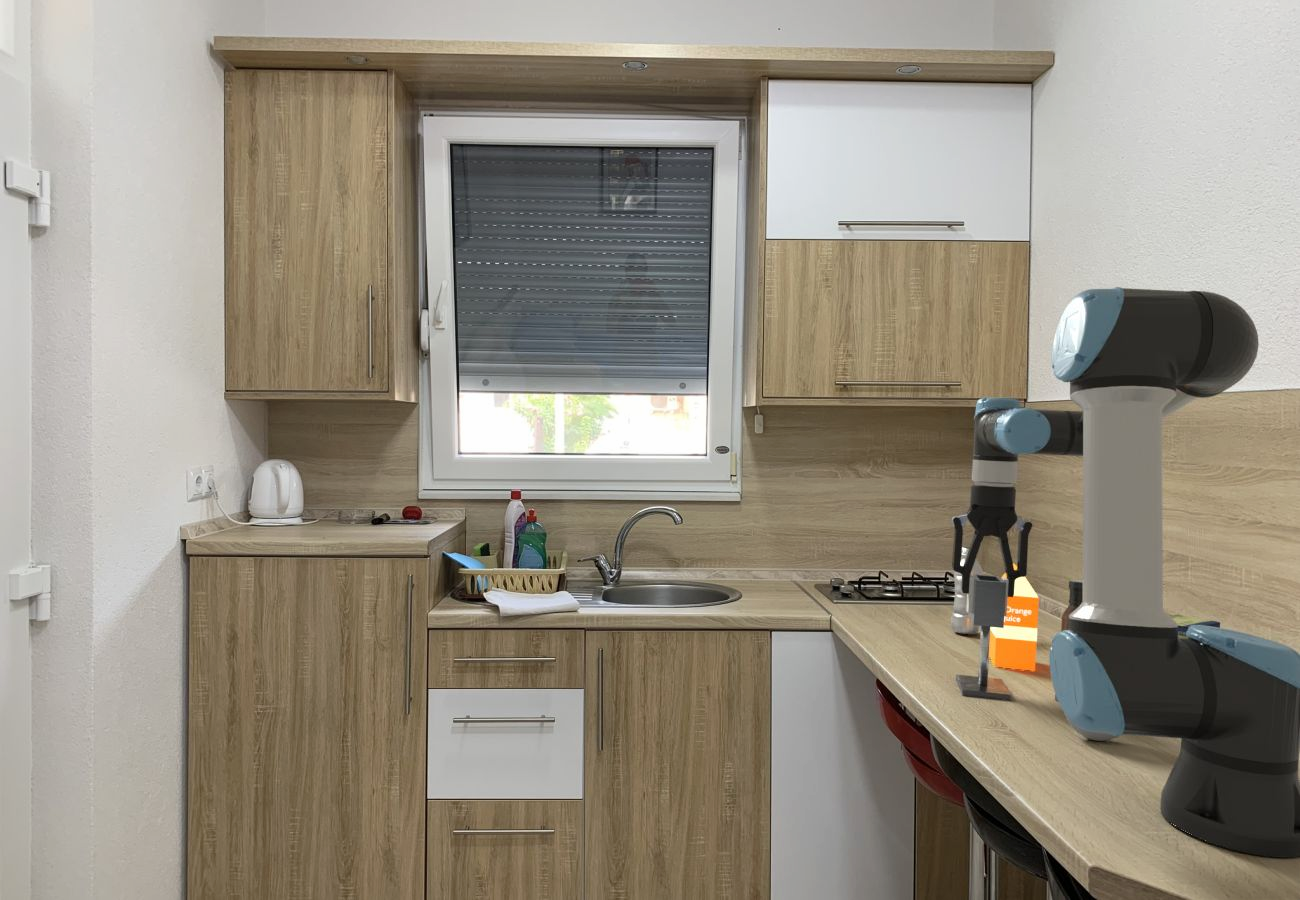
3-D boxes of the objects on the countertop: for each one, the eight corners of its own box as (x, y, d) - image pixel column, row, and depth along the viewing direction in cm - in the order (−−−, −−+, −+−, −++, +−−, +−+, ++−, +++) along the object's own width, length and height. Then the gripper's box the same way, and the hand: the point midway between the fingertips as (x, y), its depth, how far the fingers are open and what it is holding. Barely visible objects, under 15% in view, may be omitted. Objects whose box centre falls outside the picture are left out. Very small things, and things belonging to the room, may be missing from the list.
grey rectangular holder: (1003, 628, 154) (1006, 582, 154) (973, 625, 155) (976, 580, 155) (997, 619, 161) (999, 576, 161) (968, 617, 162) (970, 574, 162)
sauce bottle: (1099, 695, 158) (1106, 585, 158) (1062, 691, 159) (1068, 582, 159) (1089, 684, 165) (1095, 579, 164) (1053, 681, 166) (1059, 577, 165)
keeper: (1010, 700, 152) (1014, 631, 152) (962, 695, 154) (966, 627, 154) (1001, 684, 162) (1004, 620, 162) (955, 679, 164) (959, 616, 164)
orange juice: (993, 667, 174) (999, 567, 174) (987, 656, 183) (992, 561, 182) (1036, 671, 172) (1041, 570, 172) (1027, 660, 181) (1033, 564, 180)
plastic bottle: (950, 635, 201) (955, 548, 200) (949, 629, 207) (953, 545, 207) (980, 638, 199) (985, 550, 199) (978, 632, 206) (983, 547, 205)
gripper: (1043, 486, 159) (1035, 613, 160) (938, 480, 163) (932, 604, 164) (1052, 488, 151) (1044, 622, 152) (942, 482, 156) (935, 612, 156)
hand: (986, 612), depth 158 cm, fingers closed on grey rectangular holder, 5 cm apart
